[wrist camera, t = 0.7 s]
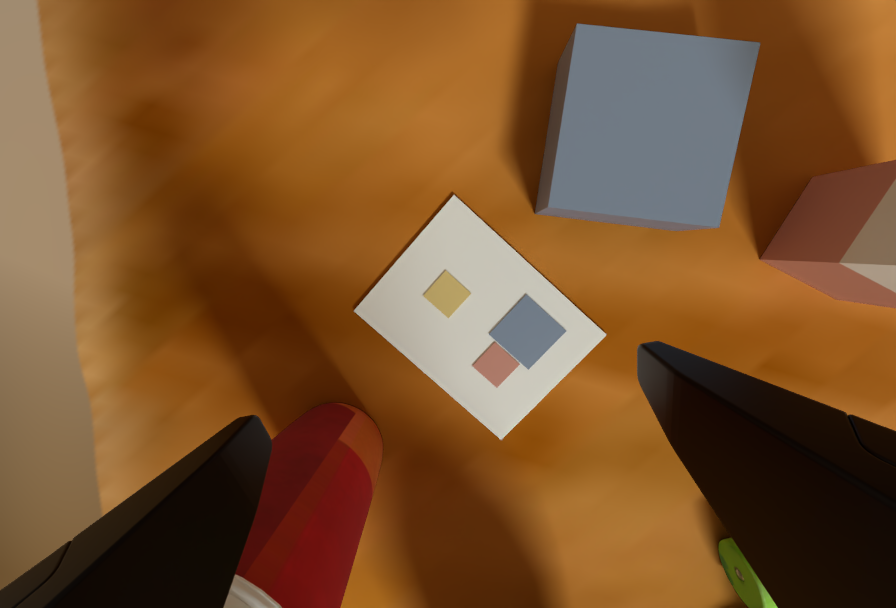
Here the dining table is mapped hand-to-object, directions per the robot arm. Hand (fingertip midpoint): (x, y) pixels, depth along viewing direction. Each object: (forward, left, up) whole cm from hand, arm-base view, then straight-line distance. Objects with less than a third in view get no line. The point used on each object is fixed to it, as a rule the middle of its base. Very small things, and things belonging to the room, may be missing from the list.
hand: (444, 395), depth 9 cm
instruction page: (-2, 0, -14) cm, 14 cm away
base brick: (+1, -12, -14) cm, 19 cm away
